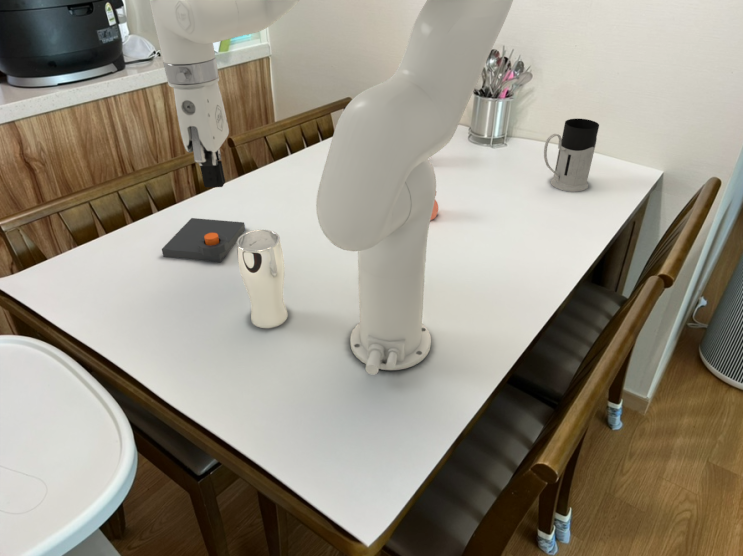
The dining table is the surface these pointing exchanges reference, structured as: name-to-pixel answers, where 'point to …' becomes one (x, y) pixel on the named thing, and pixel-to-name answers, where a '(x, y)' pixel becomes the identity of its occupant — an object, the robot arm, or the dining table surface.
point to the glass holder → (574, 154)
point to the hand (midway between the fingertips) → (215, 185)
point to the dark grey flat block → (203, 240)
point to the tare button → (211, 239)
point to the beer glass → (263, 276)
